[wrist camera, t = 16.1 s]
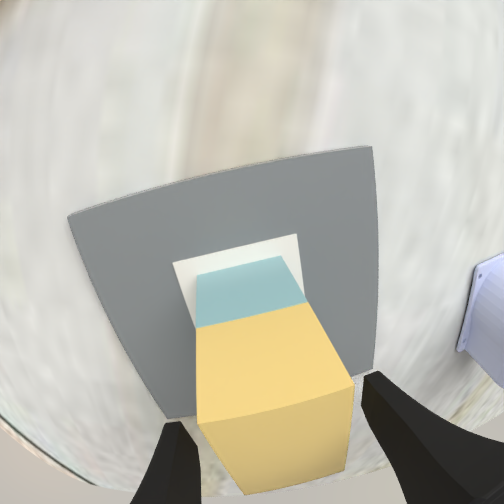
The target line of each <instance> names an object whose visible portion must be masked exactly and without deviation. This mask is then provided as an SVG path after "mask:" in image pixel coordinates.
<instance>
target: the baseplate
mask: <svg viewBox="0 0 504 504" xmlns="http://www.w3.org/2000/svg"><path fill="white" fill-rule="evenodd" d="M67 219H68V222H69V225H70V228H71V230H72V233H73V236H74V239H75V241H76V244H77V247H78V249H79V252H80V255H81V257H82V260H83V262H84V265H85V267H86V270H87V272H88V274H89V277H90V279H91V281H92V284H93V286H94V288H95V290H96V293H97V295H98V297H99V299H100V301H101V304H102V306H103V308H104V310H105V312H106V314H107V316H108V318H109V320H110V322H111V324H112V326H113V328H114V330H115V332H116V334H117V336H118V338H119V340H120V342H121V343H122V345H123V347H124V349H125V351H126V353H127V354H128V356H129V358H130V360H131V362H132V363H133V365H134V367H135V368H136V370H137V372H138V374H139V375H140V377H141V379H142V380H143V382H144V384H145V385H146V387H147V388H148V390H149V392H150V393H151V395H152V396H153V398H154V399H155V401H156V403H157V404H158V406H159V407H160V409H161V410H162V412H163V413H164V415H165V416H166V418H167V419H171V418H179V417H186V416H193V415H197V399H196V289H197V275H200V274H204V273H209V272H213V271H217V270H221V269H226V268H230V267H234V266H238V265H242V264H247V263H251V262H255V261H259V260H263V259H268V258H272V257H276V256H280V255H281V256H282V258H283V260H284V261H285V263H286V265H287V267H288V268H289V270H290V272H291V273H292V275H293V277H294V279H295V280H296V282H297V284H298V286H299V287H300V289H301V291H302V292H303V294H304V296H305V298H306V299H307V301H308V303H309V304H310V306H311V308H312V310H313V311H314V313H315V315H316V317H317V318H318V320H319V322H320V324H321V325H322V327H323V329H324V331H325V333H326V334H327V336H328V338H329V340H330V341H331V343H332V345H333V347H334V349H335V350H336V352H337V354H338V356H339V357H340V359H341V361H342V363H343V365H344V366H345V368H346V370H347V372H348V374H349V376H350V377H351V376H354V375H357V374H360V373H362V372H365V371H368V370H370V369H373V360H374V349H375V338H376V323H377V305H378V215H377V197H376V183H375V171H374V160H373V151H372V146H358V147H351V148H343V149H336V150H329V151H323V152H316V153H310V154H304V155H298V156H292V157H287V158H281V159H276V160H270V161H265V162H260V163H255V164H250V165H246V166H241V167H236V168H232V169H227V170H223V171H218V172H214V173H210V174H205V175H201V176H197V177H193V178H189V179H185V180H181V181H177V182H174V183H170V184H166V185H162V186H159V187H155V188H152V189H148V190H144V191H141V192H138V193H134V194H131V195H127V196H124V197H121V198H118V199H114V200H111V201H108V202H105V203H102V204H99V205H96V206H93V207H90V208H87V209H84V210H81V211H78V212H75V213H72V214H70V215H69V216H67Z"/></svg>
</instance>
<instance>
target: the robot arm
mask: <svg viewBox="0 0 504 504" xmlns="http://www.w3.org/2000/svg"><path fill="white" fill-rule="evenodd" d="M456 350H457V351H458V352H461V351H463V350H466V351H467V352H468V353H469V354H470V355H471V357H472V358H473V359H474V360H475V361H476V362H477V363H478V364H479V365H480V366H481V367H482V368H483V369H484V370H485V372H486V373H487V374H488V375H489V376H490V377H491V378H492V379H493V380H494V382H495V383H496V384H498V385H499V386H500V387H502V388H504V253H503V254H501V255H498V256H496V257H494V258H492V259H490V260H487V261H485V262H483V263H481V264H479V265H477V266H476V268H475V272H474V277H473V283H472V288H471V293H470V298H469V302H468V307H467V311H466V315H465V319H464V323H463V327H462V331H461V334H460V338H459V341H458V345H457V348H456ZM361 407H362V409H363V412H364V414H365V417H366V419H367V422H368V424H369V426H370V428H371V430H372V432H373V433H374V435H375V437H376V439H377V440H378V442H379V444H380V446H381V447H382V449H383V451H384V453H385V454H386V456H387V458H388V460H389V461H390V463H391V465H392V467H393V469H394V471H395V473H396V476H397V478H398V481H399V483H400V485H401V488H402V491H403V493H404V496H405V499H406V502H407V504H504V443H503V442H499V441H495V440H492V439H488V438H485V437H482V436H480V435H477V434H474V433H472V432H469V431H467V430H464V429H462V428H460V427H458V426H456V425H454V424H452V423H450V422H448V421H446V420H445V419H443V418H441V417H439V416H438V415H436V414H435V413H433V412H431V411H430V410H428V409H427V408H425V407H424V406H422V405H421V404H420V403H418V402H417V401H416V400H414V399H413V398H411V397H410V396H409V395H407V394H406V393H405V392H404V391H402V390H401V389H400V388H399V387H397V386H396V385H395V384H394V383H393V382H391V381H390V380H389V379H388V378H387V377H386V376H384V375H383V374H382V373H381V372H380V371H376V372H373V373H371V374H368V375H365V376H364V382H363V392H362V401H361ZM130 504H201V469H200V461H199V454H198V447H197V445H196V443H195V442H194V441H193V439H192V438H191V436H190V435H189V433H188V432H187V430H186V429H185V427H184V426H183V424H182V423H181V421H178V422H170V423H165V425H164V427H163V430H162V433H161V436H160V439H159V441H158V444H157V447H156V449H155V452H154V455H153V457H152V459H151V462H150V464H149V467H148V469H147V471H146V474H145V476H144V478H143V480H142V482H141V484H140V486H139V488H138V490H137V492H136V494H135V496H134V497H133V499H132V501H131V503H130Z"/></svg>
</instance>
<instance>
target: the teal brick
mask: <svg viewBox="0 0 504 504" xmlns="http://www.w3.org/2000/svg"><path fill="white" fill-rule="evenodd" d="M306 302H308V301H307V299H306V298H305V296H304V294H303V292H302V291H301V289H300V287H299V286H298V284H297V282H296V280H295V279H294V277H293V275H292V273H291V272H290V270H289V268H288V267H287V265H286V263H285V261H284V260H283V258H282V256H281V255H280V256H276V257H272V258H268V259H263V260H259V261H255V262H251V263H247V264H242V265H238V266H234V267H230V268H226V269H221V270H217V271H213V272H209V273H204V274H200V275H197V289H196V328H200V327H205V326H210V325H214V324H219V323H224V322H228V321H233V320H237V319H241V318H246V317H250V316H254V315H258V314H263V313H267V312H271V311H275V310H279V309H283V308H287V307H291V306H295V305H298V304H302V303H306Z"/></svg>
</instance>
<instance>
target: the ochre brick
mask: <svg viewBox="0 0 504 504" xmlns="http://www.w3.org/2000/svg"><path fill="white" fill-rule="evenodd" d="M354 389H355V385H354V383H353V381H352V379H351V377H350V376H349V374H348V372H347V370H346V368H345V366H344V365H343V363H342V361H341V359H340V357H339V356H338V354H337V352H336V350H335V349H334V347H333V345H332V343H331V341H330V340H329V338H328V336H327V334H326V333H325V331H324V329H323V327H322V325H321V324H320V322H319V320H318V318H317V317H316V315H315V313H314V311H313V310H312V308H311V306H310V304H309V303H308V302H306V303H302V304H298V305H295V306H291V307H287V308H283V309H279V310H275V311H271V312H267V313H263V314H258V315H254V316H250V317H246V318H241V319H237V320H233V321H228V322H224V323H219V324H214V325H210V326H205V327H200V328H196V399H197V424H198V426H199V428H200V429H201V431H202V433H203V434H204V436H205V438H206V439H207V441H208V442H209V444H210V446H211V447H212V449H213V450H214V452H215V453H216V455H217V456H218V458H219V459H220V461H221V462H222V464H223V465H224V467H225V468H226V470H227V471H228V473H229V474H230V476H231V477H232V478H233V480H234V481H235V483H236V484H237V486H238V487H239V488H240V490H241V491H242V492H243V494H244V495H250V494H255V493H261V492H266V491H271V490H276V489H280V488H285V487H289V486H293V485H297V484H301V483H305V482H308V481H312V480H315V479H319V478H322V477H325V476H329V475H332V474H335V473H338V472H341V471H344V469H345V463H346V457H347V450H348V443H349V436H350V428H351V419H352V410H353V400H354Z"/></svg>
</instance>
